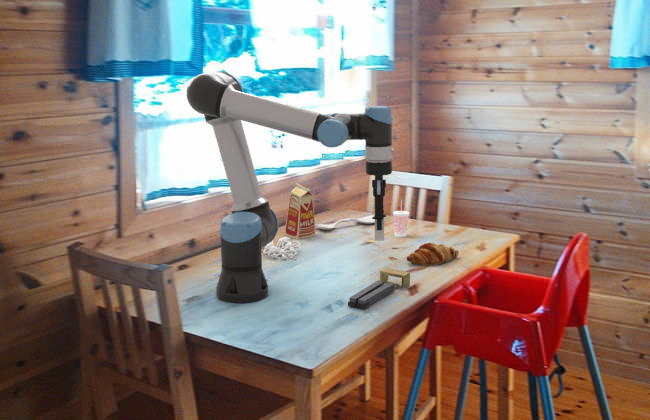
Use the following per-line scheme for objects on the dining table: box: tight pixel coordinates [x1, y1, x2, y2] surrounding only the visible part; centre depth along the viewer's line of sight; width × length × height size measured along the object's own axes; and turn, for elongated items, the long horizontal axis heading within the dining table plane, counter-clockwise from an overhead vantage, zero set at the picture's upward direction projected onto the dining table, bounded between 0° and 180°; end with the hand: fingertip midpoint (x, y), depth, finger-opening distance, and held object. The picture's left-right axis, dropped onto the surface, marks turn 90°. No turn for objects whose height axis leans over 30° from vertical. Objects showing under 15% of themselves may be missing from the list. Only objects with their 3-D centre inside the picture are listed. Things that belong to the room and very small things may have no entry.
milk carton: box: [283, 182, 316, 240], centre depth 278 cm, size 9×9×20 cm
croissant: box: [406, 242, 460, 266], centre depth 248 cm, size 21×10×8 cm, turn 120°
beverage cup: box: [392, 199, 410, 238], centre depth 279 cm, size 6×6×14 cm
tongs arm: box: [347, 279, 385, 308], centre depth 212 cm, size 18×2×2 cm, turn 149°
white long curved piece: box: [315, 214, 375, 231], centre depth 294 cm, size 9×32×4 cm, turn 124°
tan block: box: [379, 267, 411, 289], centre depth 223 cm, size 4×8×4 cm, turn 57°
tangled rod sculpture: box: [262, 236, 302, 261], centre depth 257 cm, size 19×14×4 cm
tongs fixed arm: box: [355, 281, 398, 310], centre depth 213 cm, size 23×5×2 cm, turn 147°
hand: (379, 239), depth 216 cm, fingers closed
